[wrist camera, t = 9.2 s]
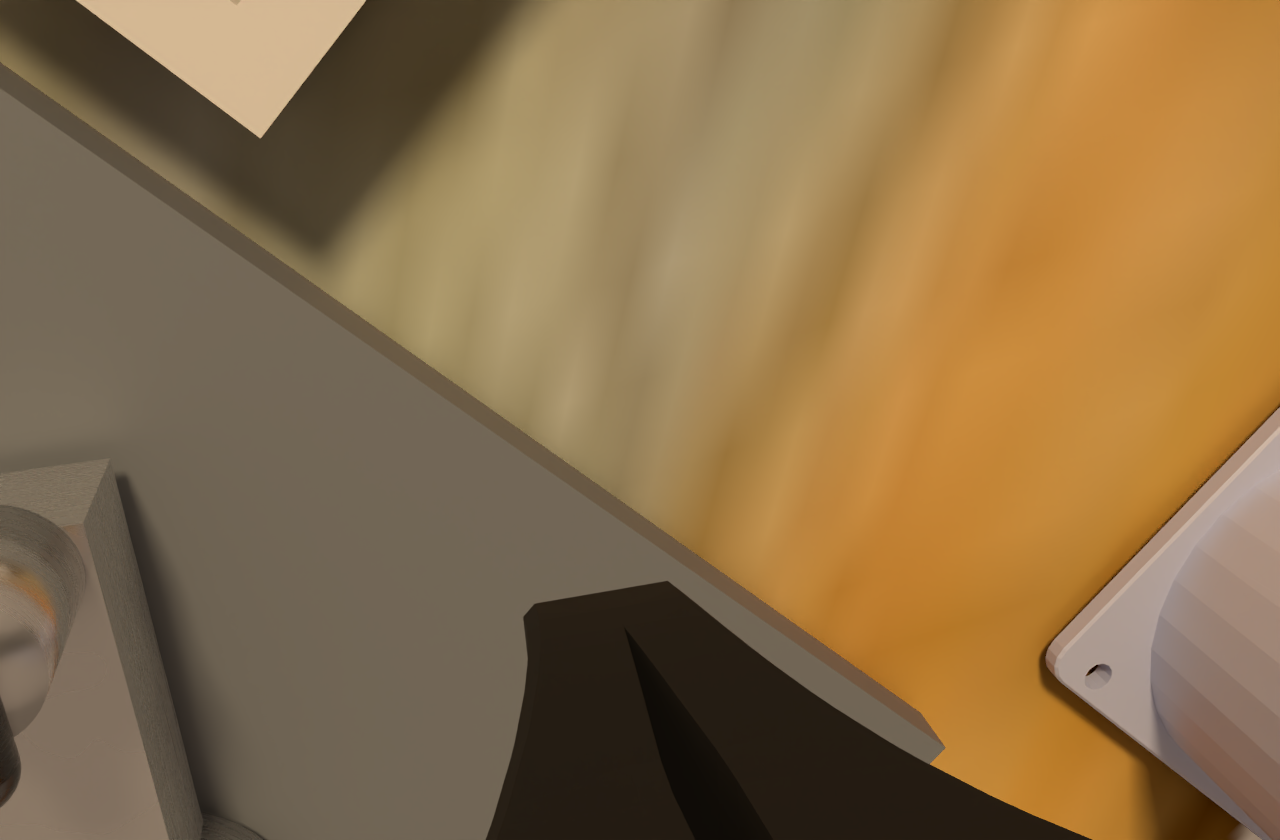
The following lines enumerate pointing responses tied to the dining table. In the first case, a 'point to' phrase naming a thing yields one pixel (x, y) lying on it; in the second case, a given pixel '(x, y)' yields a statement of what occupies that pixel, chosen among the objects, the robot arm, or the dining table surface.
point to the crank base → (313, 507)
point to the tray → (234, 46)
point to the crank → (85, 674)
